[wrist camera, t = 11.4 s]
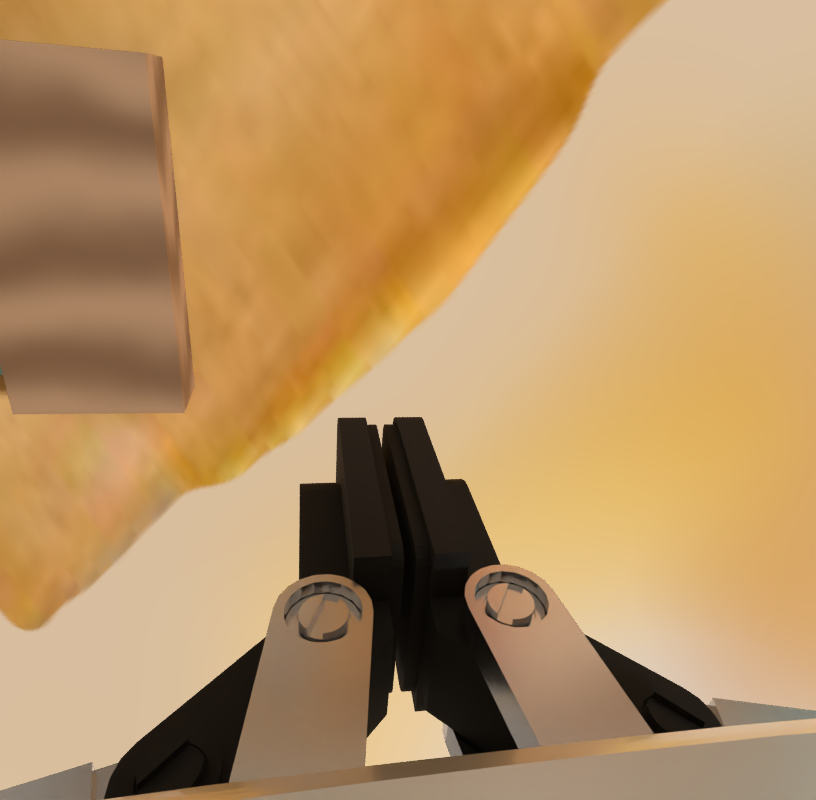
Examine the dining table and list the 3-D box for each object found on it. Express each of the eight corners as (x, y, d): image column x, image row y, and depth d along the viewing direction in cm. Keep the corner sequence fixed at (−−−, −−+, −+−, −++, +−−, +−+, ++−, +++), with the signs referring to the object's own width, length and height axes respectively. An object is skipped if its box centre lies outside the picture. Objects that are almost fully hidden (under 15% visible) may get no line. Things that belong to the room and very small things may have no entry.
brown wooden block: (-42, 38, 30) (-87, 31, 27) (162, 57, 32) (144, 52, 29) (38, 385, 39) (12, 414, 36) (194, 385, 41) (184, 412, 38)
